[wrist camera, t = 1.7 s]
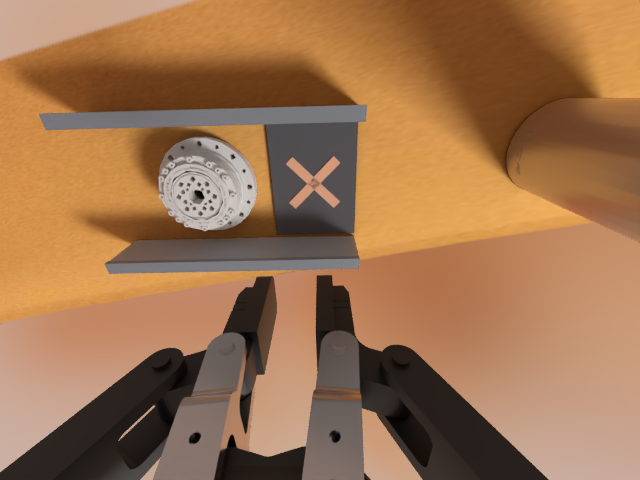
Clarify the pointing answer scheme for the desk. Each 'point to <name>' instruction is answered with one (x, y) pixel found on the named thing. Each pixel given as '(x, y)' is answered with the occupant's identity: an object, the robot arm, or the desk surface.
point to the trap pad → (313, 176)
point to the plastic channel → (223, 250)
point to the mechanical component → (207, 184)
